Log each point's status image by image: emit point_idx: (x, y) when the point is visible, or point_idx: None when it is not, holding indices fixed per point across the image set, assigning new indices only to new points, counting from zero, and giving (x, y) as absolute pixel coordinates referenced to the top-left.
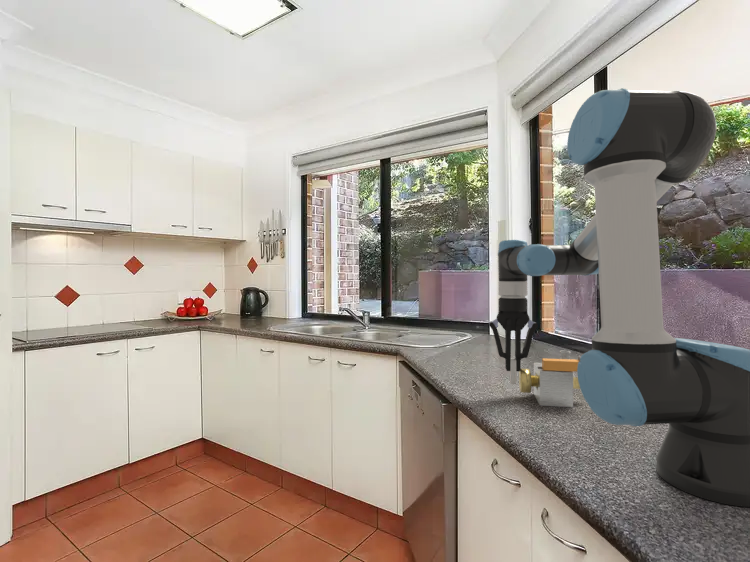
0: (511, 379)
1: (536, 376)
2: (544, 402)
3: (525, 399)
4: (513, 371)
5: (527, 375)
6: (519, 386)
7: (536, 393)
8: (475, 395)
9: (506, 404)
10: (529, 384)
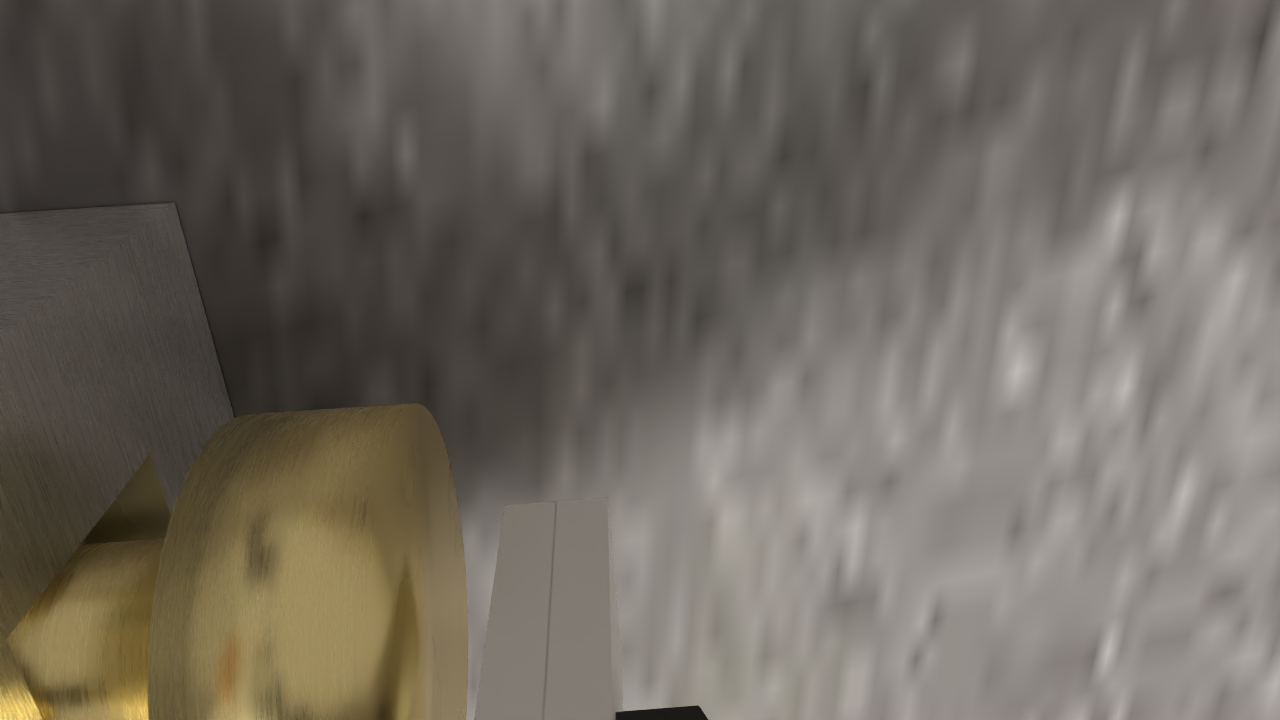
0: (592, 552)
1: (82, 693)
2: (81, 221)
3: None
4: (545, 678)
5: (232, 596)
6: (464, 620)
7: None
8: (1087, 429)
9: (676, 124)
10: (244, 437)
